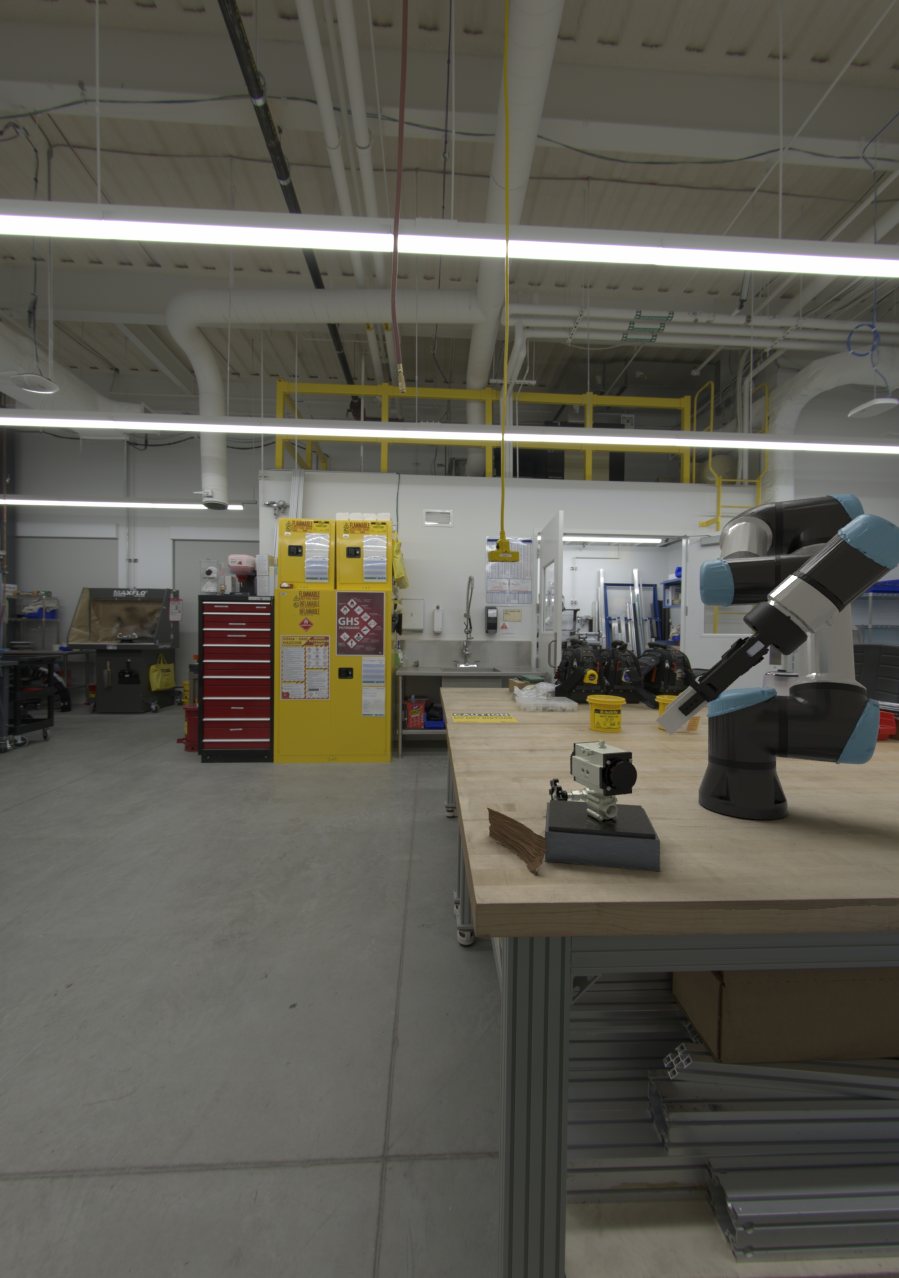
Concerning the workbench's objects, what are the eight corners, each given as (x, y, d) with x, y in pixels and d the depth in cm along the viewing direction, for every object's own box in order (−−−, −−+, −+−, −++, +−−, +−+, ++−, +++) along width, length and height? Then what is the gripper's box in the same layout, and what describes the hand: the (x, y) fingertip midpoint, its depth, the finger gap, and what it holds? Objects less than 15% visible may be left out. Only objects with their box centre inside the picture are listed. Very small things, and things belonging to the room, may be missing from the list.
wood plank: (481, 838, 85) (481, 807, 85) (492, 836, 86) (492, 806, 86) (535, 876, 71) (535, 840, 71) (547, 873, 72) (548, 837, 72)
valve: (608, 806, 101) (548, 808, 100) (608, 773, 101) (548, 774, 100) (621, 818, 94) (558, 819, 93) (621, 782, 94) (558, 783, 93)
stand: (643, 834, 86) (643, 804, 86) (660, 871, 72) (659, 835, 72) (547, 827, 89) (547, 798, 89) (545, 861, 75) (545, 827, 75)
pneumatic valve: (593, 804, 86) (593, 733, 86) (638, 828, 75) (638, 746, 75) (564, 807, 85) (564, 734, 85) (606, 832, 73) (606, 749, 74)
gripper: (829, 636, 57) (682, 757, 64) (797, 636, 79) (691, 726, 86) (772, 591, 59) (637, 712, 66) (757, 603, 81) (657, 693, 88)
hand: (667, 720), depth 76 cm, fingers open, 13 cm apart
